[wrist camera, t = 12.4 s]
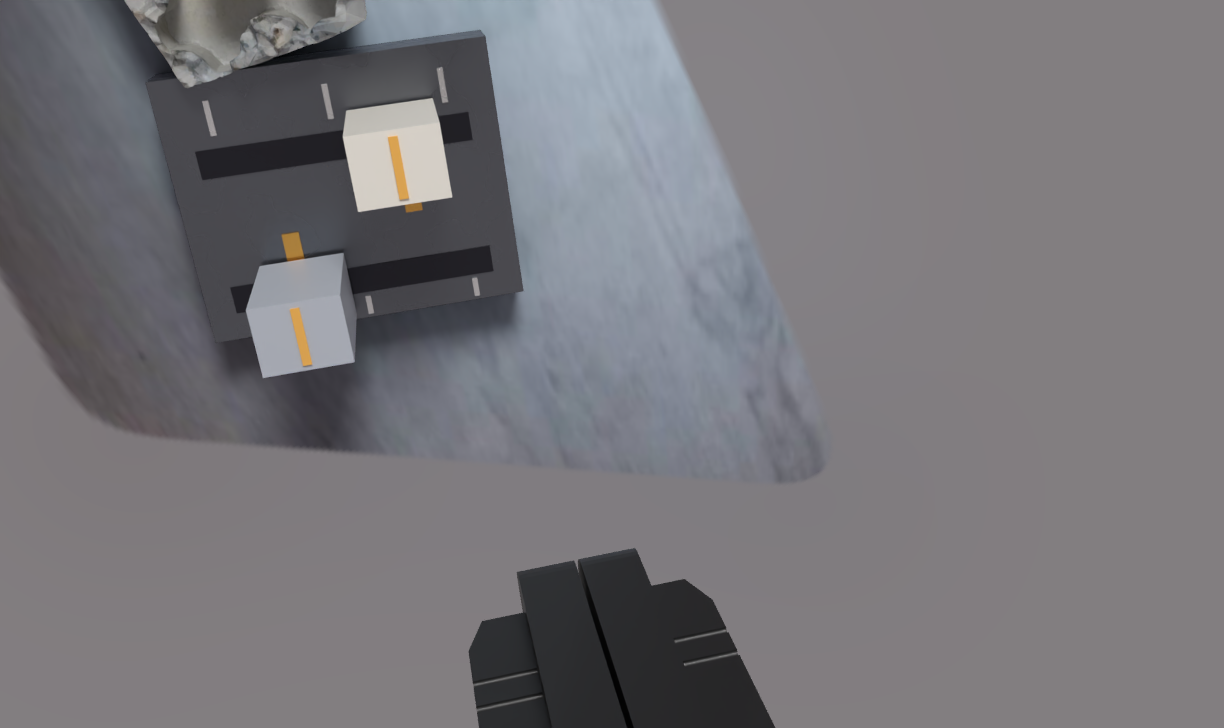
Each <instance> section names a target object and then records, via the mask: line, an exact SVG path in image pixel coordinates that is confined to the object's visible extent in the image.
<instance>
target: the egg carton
mask: <svg viewBox="0 0 1224 728" xmlns="http://www.w3.org/2000/svg"><path fill="white" fill-rule="evenodd" d="M124 1H125V2H126V4H127V5H128V7H129V8H130V10H131V11H132V13H133V14H134V16H135V17H136V19H137V20H138V21H139V23H140V24H141V25H142V27H143V28H144V29H145V31H146V32H147V33H148V35H149V36H150V38H151V39H152V41H153V42H154V44H155V45H156V46H157V48H158V49H159V50H160V52H161V53H162V54H163V56H164V57H165V59H166V60H167V61H168V63H169V64H170V66H171V68H172V71H173V72H174V74H175V75H176V77H177V78H178V80H179V81H180V82H181V84H182V85H183V86H184V87H185V88H190V87H192V86H195V85H198V84H202V83H205V82H209V81H212V80H215V79H218V78H221V77H224V76H226V75H228V74H231V73H233V72H234V71H236V70H239V69H241V68H245V67H248V66H252V65H256V64H259V63H262V62H265V61H267V60H270V59H272V58H274V57H276V56H280V55H283V54H286V53H289V52H291V51H294V50H297V49H299V48H302V47H304V46H307V45H310V44H316V43H319V42H321V41H324V40H326V39H329V38H331V37H333V36H335V35H338V34H340V33H342V32H344V31H347V30H348V29H350V28H352V27H354V26H355V25H357V24H359V23H361V22H362V21H364V20H366V14H367V11H366V6H365V1H364V0H124Z"/></svg>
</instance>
